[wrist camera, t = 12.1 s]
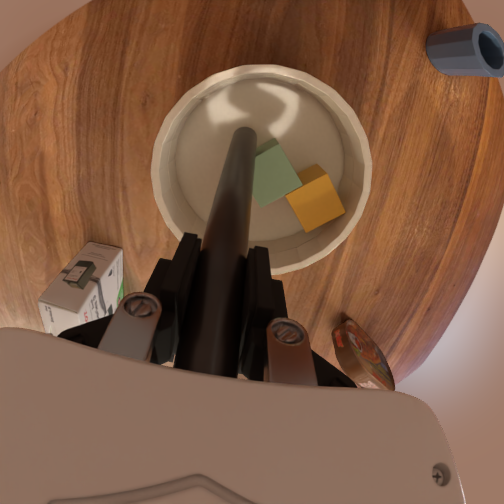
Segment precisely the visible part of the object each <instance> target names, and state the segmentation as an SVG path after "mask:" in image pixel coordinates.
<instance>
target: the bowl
mask: <svg viewBox="0 0 504 504" xmlns="http://www.w3.org/2000/svg"><path fill="white" fill-rule="evenodd" d="M240 127H249V128H251V129H253V130H254V131H255V132H256V134H257V146H256V148H257V147H259V146H261V145H262V144H264V143H266V142H268V141H270V140H271V139H273V138H275V139H276V140H277V141H278V143H279V144H280V146H281V148H282V149H283V151H284V153H285V154H286V156H287V158H288V159H289V161H290V163H291V165H292V166H293V168H294V170H295V172H296V173H299V172H301V171H303V170H305V169H307V168H309V167H311V166H313V165H315V164H318V165H319V166H320V167H321V168H322V169H323V170H324V171H325V172H326V173H327V174H328V175H329V178H330V180H331V182H332V184H333V186H334V188H335V190H336V192H337V194H338V196H339V199H340V201H341V203H342V205H343V207H344V210H345V212H346V213H344V214H342V215H340V216H338V217H336V218H334V219H332V220H330V221H328V222H327V223H325V224H323V225H321V226H319V227H317V228H315V229H313V230H311V231H309V232H307V233H306V232H305V231H304V229H303V227H302V225H301V223H300V221H299V220H298V218H297V216H296V214H295V212H294V211H293V209H292V207H291V205H290V204H289V202H288V200H287V198H286V196H285V195H284V196H282V197H280V198H278V199H277V200H275V201H273V202H271V203H269V204H268V205H266V206H264V207H262V208H261V207H260V206H259V204H258V203H257V201H256V200H255V198H254V197H253V195H252V204H251V216H250V228H249V240H248V251H249V248H253V249H254V247H255V245H256V246H261V247H266V248H268V251H269V260H270V268H271V275H278V274H283V273H287V272H290V271H294V270H298V269H301V268H304V267H306V266H308V265H310V264H312V263H314V262H316V261H318V260H319V259H321V258H323V257H325V256H326V255H328V254H329V253H330V252H331V251H332V250H333V249H335V248H336V247H337V246H338V245H339V244H340V243H341V242H342V241H344V240H345V239H346V238H347V236H348V235H349V234H350V232H351V231H352V229H353V228H354V226H355V225H356V223H357V222H358V221H359V219H360V218H361V215H362V213H363V210H364V207H365V205H366V202H367V199H368V196H369V193H370V187H371V176H372V159H371V154H370V149H369V144H368V139H367V136H366V134H365V132H364V130H363V128H362V126H361V124H360V122H359V120H358V118H357V116H356V114H355V112H354V110H353V109H352V108H351V107H350V106H349V105H348V104H347V102H346V101H345V100H344V99H343V98H342V97H341V96H340V95H339V94H338V93H337V92H336V91H335V90H334V89H333V88H331V87H330V86H328V85H327V84H325V83H323V82H322V81H320V80H318V79H317V78H315V77H313V76H312V75H310V74H308V73H306V72H303V71H299V70H296V69H292V68H288V67H285V66H281V65H275V64H258V65H241V66H238V67H235V68H231V69H228V70H225V71H222V72H219V73H216V74H213V75H211V76H210V77H208V78H206V79H205V80H203V81H202V82H200V83H199V84H197V85H196V86H194V87H193V88H191V89H190V90H189V91H187V92H186V93H185V94H184V95H183V96H182V97H181V98H180V100H179V101H178V102H177V103H176V104H175V106H174V107H173V108H172V109H171V110H170V112H169V113H168V114H167V115H166V117H165V119H164V121H163V124H162V126H161V128H160V130H159V133H158V135H157V137H156V140H155V142H154V148H153V155H152V163H151V179H152V186H153V192H154V198H155V201H156V203H157V206H158V208H159V210H160V212H161V215H162V217H163V219H164V221H165V223H166V225H167V226H168V227H169V229H170V230H171V231H172V233H173V234H174V235H175V236H176V238H177V239H178V240H179V241H181V239H182V237H183V235H184V232H188V233H193V234H198V237H197V238H201V239H202V241H203V237H204V233H205V229H206V226H207V222H208V218H209V215H210V211H211V207H212V204H213V200H214V197H215V193H216V190H217V186H218V183H219V179H220V176H221V173H222V169H223V166H224V163H225V159H226V156H227V153H228V149H229V146H230V143H231V140H232V137H233V134H234V132H235V131H236V130H237V129H238V128H240ZM201 244H202V243H201ZM247 255H248V252H247Z"/></svg>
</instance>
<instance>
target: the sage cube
mask: <svg viewBox="0 0 504 504" xmlns="http://www.w3.org/2000/svg"><path fill="white" fill-rule="evenodd" d="M302 185H303V184H302V182H301V180H300V179H299V177H298V175H297V173H296V172H295V170H294V168H293V166H292V165H291V163H290V161H289V159H288V158H287V156H286V154H285V153H284V151H283V149H282V148H281V146H280V144H279V143H278V141H277V140H276V139H275V138H273V139H271V140H270V141H268V142H266V143H264V144H262V145H261V146H259V147H257V148H256V158H255V169H254V181H253V193H252V195H253V197H254V198H255V200H256V201H257V203H258V204H259V206H260V207H261V208H262V207H264V206H266V205H268V204H269V203H271V202H273V201H275V200H277V199H278V198H280V197H282V196H284V195H286V194H287V193H289V192H291V191H293V190H295V189H297V188H298V187H300V186H302Z"/></svg>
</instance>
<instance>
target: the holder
mask: <svg viewBox="0 0 504 504" xmlns="http://www.w3.org/2000/svg"><path fill="white" fill-rule="evenodd" d="M426 51H427V55H428V57H429V60H430V61H431V63H432V65H433V66H434V67H435V68H436V69H437V70H438V71H439V72H441V73H443V74H445V75H462V76H486V77H503V76H504V43H503V41H502V39H501V37H500V36H499V34H498V33H497V32H496V31H495V30H494V29H493V28H492V27H490V26H489V25H488V24H483V23H475V24H469V25H463V26H458V27H453V28H448V29H444V30H439V31H436V32H434V33H432V34H430V35H429V36H428V38H427V41H426Z"/></svg>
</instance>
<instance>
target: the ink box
mask: <svg viewBox="0 0 504 504" xmlns="http://www.w3.org/2000/svg"><path fill="white" fill-rule="evenodd" d="M123 297H124V296H123V259H122V249H121V248H117V247H113V246H109V245H104V244H99V243H94V242H88V243H87V244H86V245H85V246H84V247H83V248H82V249H81V251H80V252H79V253H78V254H77V255H76V256H75V257H74V258H73V259H72V260H71V261H70V263H69V264H68V265H67V266H66V267H65V268H64V269H63V270H62V272H61V273H60V274H59V275H58V276H57V277H56V278H55V280H54V281H53V282H52V283H51V284H50V285H49V287H48V288H47V289H46V290H45V291H44V293H43V294H42V295H41V296H40V297H39V299H38V307H39V310H40V314H41V318H42V322H43V325H44V329H45V332H46V333H52V334H53V336H56V337H57V336H58V335H59V334H60V333H61V332H62V331H64V330H66V329H69V328H72V327H75V326H78V325H81V324H84V323H87V322H90V321H93V320H96V319H99V318H102V317H105V316H108V315H111V314H114V313H115V311H116V309H117V307H118V305H119V303H120V301H121V300H122V299H123Z"/></svg>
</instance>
